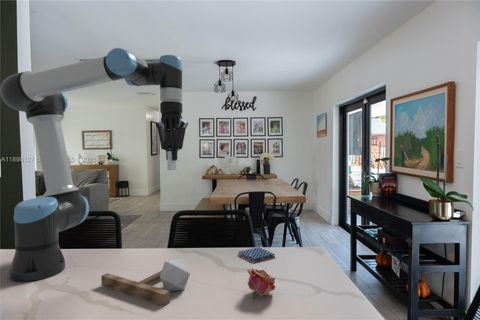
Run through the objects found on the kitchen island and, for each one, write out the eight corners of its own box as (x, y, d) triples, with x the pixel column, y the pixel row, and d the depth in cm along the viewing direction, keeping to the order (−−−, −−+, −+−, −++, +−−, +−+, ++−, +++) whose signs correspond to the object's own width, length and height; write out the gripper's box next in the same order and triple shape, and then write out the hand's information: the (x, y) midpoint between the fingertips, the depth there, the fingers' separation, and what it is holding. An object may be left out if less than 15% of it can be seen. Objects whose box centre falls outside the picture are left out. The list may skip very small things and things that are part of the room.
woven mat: (258, 250, 120) (258, 245, 120) (276, 259, 111) (276, 253, 111) (236, 256, 114) (236, 250, 114) (253, 265, 105) (253, 259, 105)
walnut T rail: (101, 285, 89) (101, 275, 89) (143, 266, 103) (143, 258, 103) (164, 306, 77) (164, 294, 77) (201, 281, 91) (201, 271, 91)
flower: (262, 303, 75) (274, 274, 78) (234, 287, 80) (246, 261, 82) (272, 308, 82) (282, 281, 85) (245, 294, 87) (256, 269, 90)
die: (180, 300, 82) (197, 265, 85) (151, 285, 81) (170, 251, 85) (178, 297, 89) (194, 266, 93) (152, 284, 88) (169, 252, 92)
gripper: (193, 102, 106) (193, 169, 107) (164, 104, 112) (165, 168, 113) (178, 99, 100) (179, 171, 101) (149, 102, 106) (150, 170, 107)
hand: (171, 169), depth 107 cm, fingers closed
